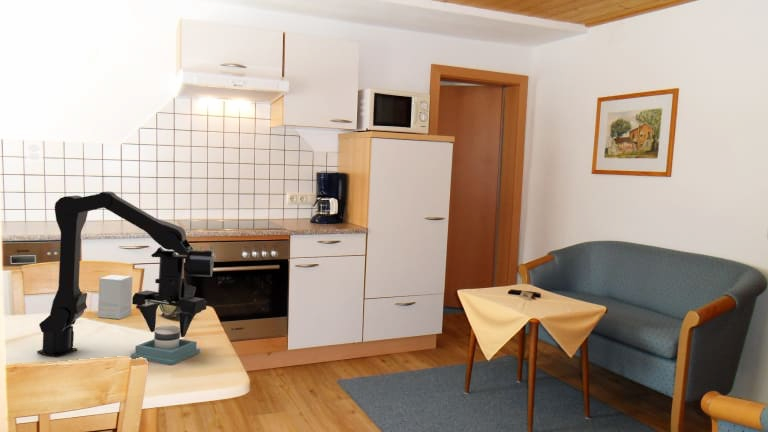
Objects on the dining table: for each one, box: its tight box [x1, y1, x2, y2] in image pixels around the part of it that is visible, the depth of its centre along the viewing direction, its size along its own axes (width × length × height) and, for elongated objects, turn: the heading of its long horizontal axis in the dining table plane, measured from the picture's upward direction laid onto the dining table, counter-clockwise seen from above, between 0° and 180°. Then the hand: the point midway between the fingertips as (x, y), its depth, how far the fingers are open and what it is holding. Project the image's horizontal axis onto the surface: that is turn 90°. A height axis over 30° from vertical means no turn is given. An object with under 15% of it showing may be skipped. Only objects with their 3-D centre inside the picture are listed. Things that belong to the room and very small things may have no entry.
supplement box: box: [97, 274, 133, 320], centre depth 185 cm, size 7×7×13 cm
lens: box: [153, 325, 181, 351], centre depth 151 cm, size 6×6×6 cm
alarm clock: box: [158, 297, 189, 321], centre depth 188 cm, size 11×5×16 cm, turn 54°
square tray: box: [130, 338, 201, 366], centre depth 151 cm, size 12×12×3 cm
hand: (167, 334), depth 150 cm, fingers open, 9 cm apart
